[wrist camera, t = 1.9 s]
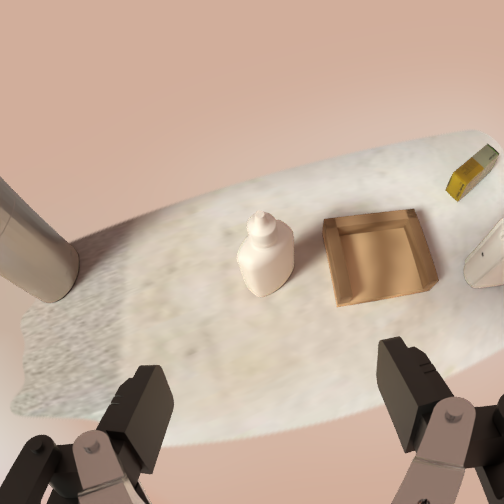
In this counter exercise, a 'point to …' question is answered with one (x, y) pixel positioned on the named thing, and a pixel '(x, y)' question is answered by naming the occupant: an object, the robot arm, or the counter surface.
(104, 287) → the counter surface
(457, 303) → the counter surface
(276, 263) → the eye dropper bottle
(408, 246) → the oak tray
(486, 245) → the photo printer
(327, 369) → the counter surface
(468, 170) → the medication box
